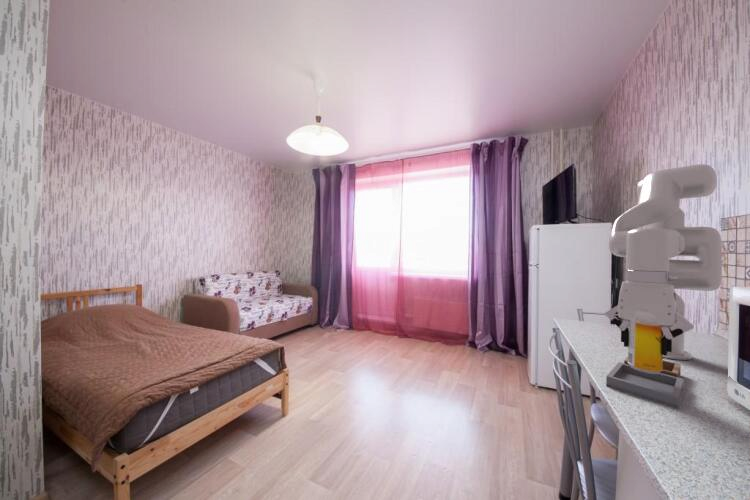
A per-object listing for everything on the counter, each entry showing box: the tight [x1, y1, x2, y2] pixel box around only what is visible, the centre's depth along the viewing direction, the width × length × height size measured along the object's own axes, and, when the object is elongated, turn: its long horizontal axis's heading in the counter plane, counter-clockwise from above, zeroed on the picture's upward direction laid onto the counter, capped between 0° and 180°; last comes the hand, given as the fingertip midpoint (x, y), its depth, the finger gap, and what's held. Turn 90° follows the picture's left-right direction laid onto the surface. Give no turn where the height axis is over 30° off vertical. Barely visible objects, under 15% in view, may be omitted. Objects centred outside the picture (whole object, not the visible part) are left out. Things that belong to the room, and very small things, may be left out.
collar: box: [623, 356, 682, 378], centre depth 74 cm, size 10×10×3 cm
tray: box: [605, 361, 684, 410], centre depth 66 cm, size 14×12×2 cm
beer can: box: [627, 310, 664, 374], centre depth 66 cm, size 6×6×15 cm
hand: (645, 349), depth 66 cm, fingers closed on beer can, 6 cm apart
